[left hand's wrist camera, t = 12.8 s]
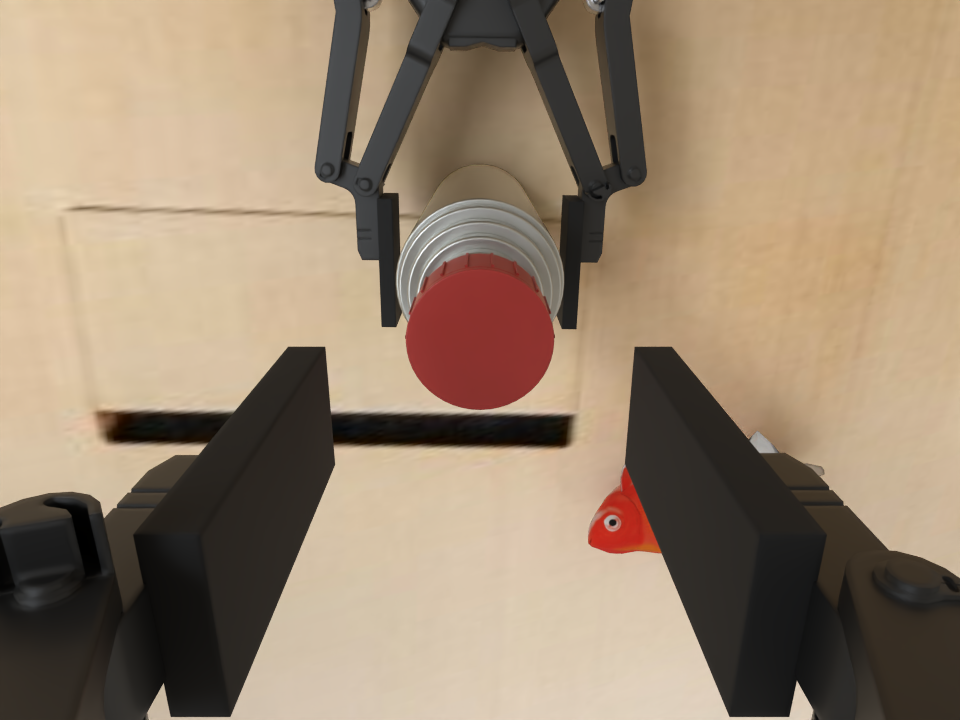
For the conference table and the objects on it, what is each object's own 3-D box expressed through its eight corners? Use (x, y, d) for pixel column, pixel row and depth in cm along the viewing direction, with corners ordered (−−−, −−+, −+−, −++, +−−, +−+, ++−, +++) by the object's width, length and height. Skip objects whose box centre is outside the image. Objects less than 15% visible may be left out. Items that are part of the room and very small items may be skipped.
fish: (595, 391, 39) (694, 531, 33) (783, 370, 46) (897, 482, 39) (543, 505, 46) (616, 641, 39) (714, 472, 53) (802, 583, 46)
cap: (505, 224, 19) (508, 238, 17) (572, 342, 20) (582, 368, 18) (385, 294, 20) (374, 315, 18) (457, 404, 21) (454, 436, 19)
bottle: (498, 144, 39) (522, 181, 17) (548, 234, 41) (628, 374, 19) (410, 198, 40) (325, 299, 18) (462, 284, 42) (442, 471, 20)
